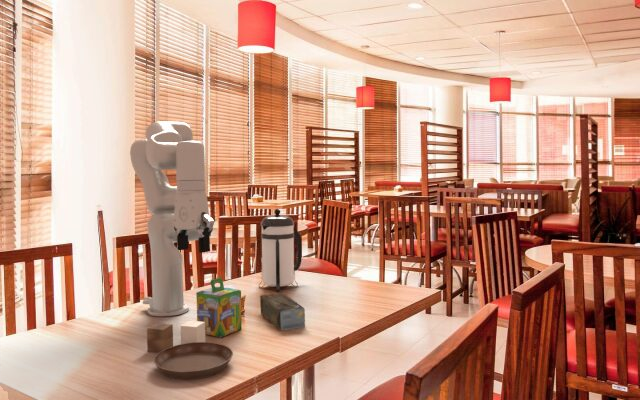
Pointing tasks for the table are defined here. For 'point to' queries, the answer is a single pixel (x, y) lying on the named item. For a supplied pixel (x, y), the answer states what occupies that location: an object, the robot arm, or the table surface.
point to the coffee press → (279, 251)
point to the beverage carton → (282, 311)
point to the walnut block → (159, 337)
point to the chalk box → (219, 309)
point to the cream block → (192, 332)
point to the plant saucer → (193, 360)
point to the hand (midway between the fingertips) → (193, 250)
